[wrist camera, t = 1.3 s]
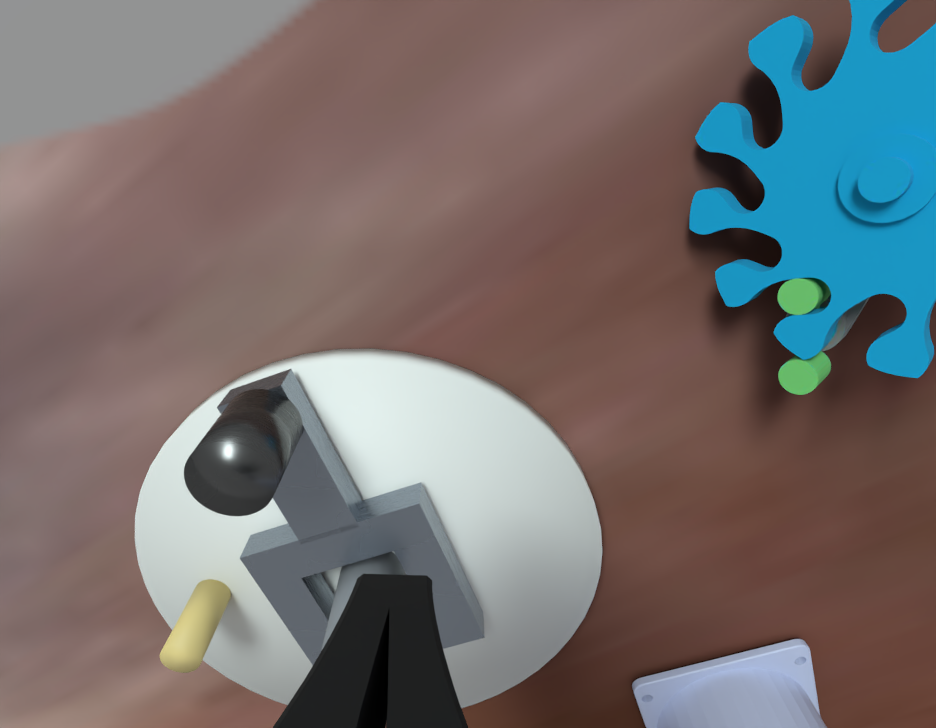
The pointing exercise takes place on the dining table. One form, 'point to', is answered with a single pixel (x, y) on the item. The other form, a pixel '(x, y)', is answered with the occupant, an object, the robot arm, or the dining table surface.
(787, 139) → the gear
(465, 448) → the base plate
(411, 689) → the robot arm
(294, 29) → the dining table surface
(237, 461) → the crank handle
